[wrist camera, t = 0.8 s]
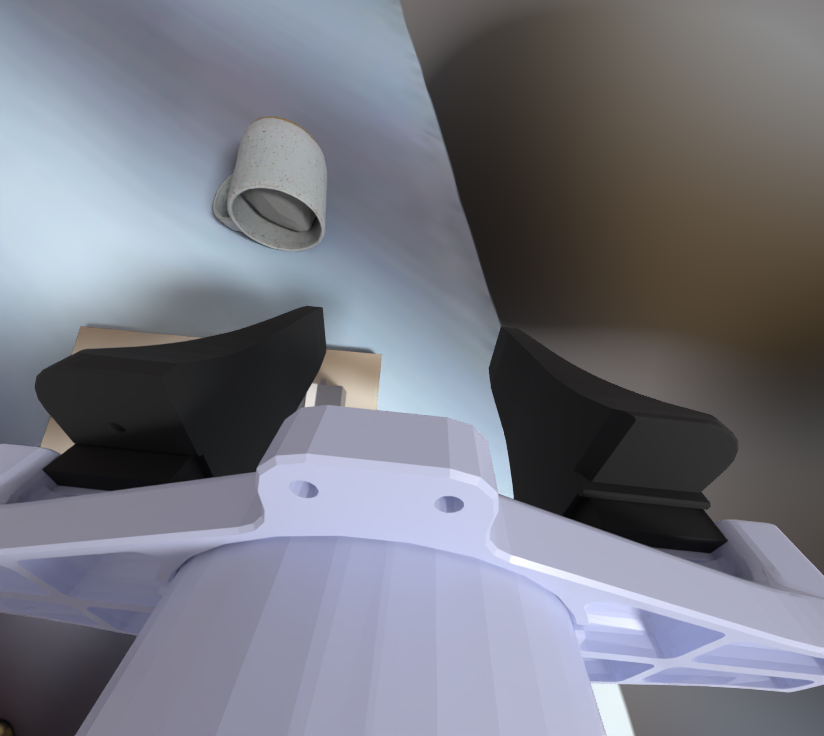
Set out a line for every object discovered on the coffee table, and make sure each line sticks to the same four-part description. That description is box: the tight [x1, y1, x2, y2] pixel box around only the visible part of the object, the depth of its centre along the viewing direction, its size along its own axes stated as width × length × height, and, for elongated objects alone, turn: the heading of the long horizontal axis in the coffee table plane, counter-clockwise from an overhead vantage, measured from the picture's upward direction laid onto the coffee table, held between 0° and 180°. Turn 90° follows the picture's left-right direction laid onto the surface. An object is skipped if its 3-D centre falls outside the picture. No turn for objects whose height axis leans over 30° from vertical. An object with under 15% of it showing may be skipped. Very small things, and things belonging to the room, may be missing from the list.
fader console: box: [40, 326, 382, 454], centre depth 23 cm, size 12×23×2 cm, turn 87°
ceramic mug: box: [213, 116, 327, 252], centre depth 25 cm, size 10×8×7 cm
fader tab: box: [296, 383, 347, 411], centre depth 21 cm, size 5×4×3 cm
